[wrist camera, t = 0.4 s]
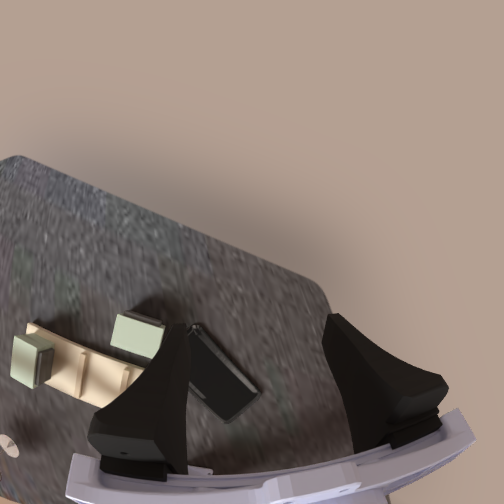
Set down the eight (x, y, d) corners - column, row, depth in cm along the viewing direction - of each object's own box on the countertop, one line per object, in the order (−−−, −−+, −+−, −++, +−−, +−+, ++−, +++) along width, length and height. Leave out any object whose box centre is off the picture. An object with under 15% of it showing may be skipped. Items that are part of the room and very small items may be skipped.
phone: (196, 321, 38) (264, 394, 38) (196, 321, 39) (261, 392, 39) (155, 356, 35) (225, 427, 36) (155, 354, 36) (224, 424, 37)
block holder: (138, 416, 33) (131, 437, 26) (25, 368, 29) (2, 377, 22) (148, 369, 35) (141, 382, 28) (32, 322, 31) (7, 324, 24)
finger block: (159, 352, 36) (156, 359, 31) (119, 339, 35) (110, 344, 29) (166, 321, 37) (164, 324, 32) (127, 308, 36) (118, 309, 31)
